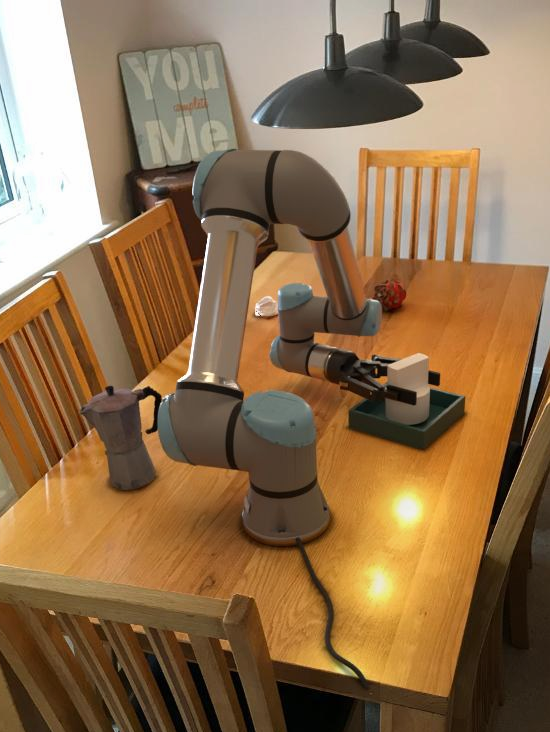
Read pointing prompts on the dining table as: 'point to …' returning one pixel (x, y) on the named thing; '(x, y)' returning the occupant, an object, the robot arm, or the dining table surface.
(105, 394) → the moka pot
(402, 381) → the cylinder with rectangular tab
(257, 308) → the white rounded lump
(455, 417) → the bin
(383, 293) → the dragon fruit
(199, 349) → the robot arm
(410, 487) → the dining table surface
